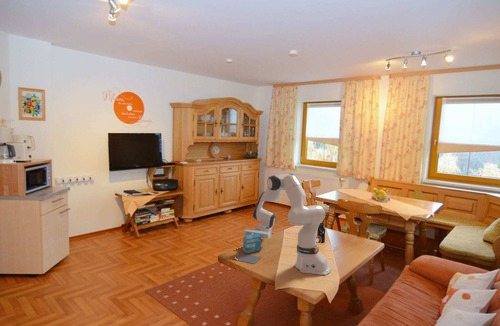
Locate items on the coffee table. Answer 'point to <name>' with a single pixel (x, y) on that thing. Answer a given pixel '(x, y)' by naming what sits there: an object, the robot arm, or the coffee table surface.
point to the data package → (251, 243)
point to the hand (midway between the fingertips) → (252, 236)
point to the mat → (247, 258)
